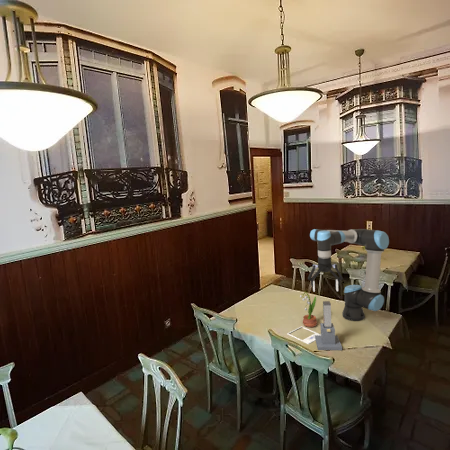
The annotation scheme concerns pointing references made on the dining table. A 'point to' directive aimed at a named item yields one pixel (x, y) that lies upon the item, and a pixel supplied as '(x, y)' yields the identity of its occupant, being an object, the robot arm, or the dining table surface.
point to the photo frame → (308, 339)
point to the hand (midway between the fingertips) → (325, 290)
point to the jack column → (327, 314)
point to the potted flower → (309, 319)
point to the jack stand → (328, 339)
